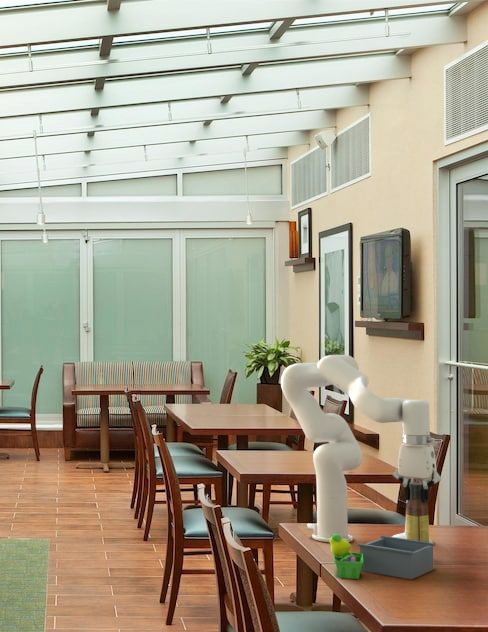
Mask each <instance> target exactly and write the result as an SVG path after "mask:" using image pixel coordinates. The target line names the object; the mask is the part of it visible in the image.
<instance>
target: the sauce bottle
mask: <svg viewBox="0 0 488 632" xmlns="http://www.w3.org/2000/svg"><path fill="white" fill-rule="evenodd" d="M409 488H410V498H409V500H408V502H407V501H406V502H405V503H406V504H405V525H406V530H407V539H410V540H416V541H423V542H429V539H430V522H429V520H430V519H429V518H430V517H429V505H428V502H425V503H424V502H422V489H423V482H417V481H416V482H415V481H413V482H411V483H409Z"/></svg>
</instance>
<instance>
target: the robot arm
mask: <svg viewBox="0 0 488 632" xmlns="http://www.w3.org/2000/svg"><path fill="white" fill-rule="evenodd" d="M359 369H360V368H359V363H358V361H357V360H356V359H355V358H354V357H352V356H351V355H348V354H329V355H325V356H323V357H322V358H320V359H319V360H318V362H297V363H293V364H290V365H289V366H287V367H286V368H285V369H284V371H283V372H282V375H281V378H280V387H281V390H282V394H283V396H284V398H285V400H286V401H287V403H288V405H289V406H290V408H291V409H292V411H293V413H294V415H295V417H296V419H297V422H298V423H299V425H300V427H301V429H302V431H303V433H304V436H305V437H306V439H307V440H309V441H310V442H312V443H316V444H317V443H324V444H321V445H319V446H318V447H316V449H315V450H314V453H313V457H312V460H313V467H314V471H315V479H316V480H315V481H316V523H309V522H308V523H307V524H306V530H307V531H312V532H313V533H312V535H311V536H312V537H311V538H312V539H313V540H315V541H318V542H321V543H322V542H323V543H330V538H331V537H332V536H331V535H332V534H333V535H334V534H339V535H340V536H341V537H342V538H343V539H345V540H346V541H347V542H348V543H351V542H353V541H354V537H353V535H351V534H349V523H348V520H349V519H348V518H349V517H348V511H349V510H348V483H347V479H346V477H345V474H344V472H345V471H346V472H347V471H353V470H356V469H358V468H360V466H361V464H362V462H363V453H362V449H361V446H360V444H359V442H358V441H357V439H356V437H355V435H354V433H353V432H352V430H351V428H350V427H351V426H349V424H348V422H347V421H346V419H345V418H344V417H342V416H341V415H339V414H337V413H333V412H327V413H325V412H324V411H323V409H322V408H321V406H320V404H319V402H318V401H317V400H318V399H316V397H315V396H314V395H313V394H312V393H311V392H310V391H309V390H308V389H307V388H321V387H328V386H331V385H332V386H335V387H336V388H337V389H339V390H340V391H341V392H343V393H344V394H345V395H347V396H348V397H349V399H350V401H351V403H352V404H353V406H354V407H355V409H357V411H359V412H360V413H361V414H363V415H364V416H365V417H367V418H368V419H370V420H371V421H374V422H377V423H379V424H387V423H388V424H389V423H399V422H402V443H400V445H399V446H400V447H399V452H398V459H397V468H396V469H395V471H394V472H393V474H392V476H393V478H395V479H396V480H398V482H399V483H400V484H401V485H402V487H404V497H405V501H407V500H409V498H410V488H409V483H411V479H412V478H414V479H418V480H419V479H420V480H421V483H423V489H422V502H424V503H425V502H426V503H428V502H429V500H430V498H431V495H430V494H431V493H430V492H431V491H430V490H431V489H432V487H434V485H435V484H437V483H439V482H441V481H442V477H441V475H440V474H439V473H438V471H437V461H436V453H435V449H434V446H433V444H432V445H431V443H434V442H435V440H436V439H435V437H431V433H430V432H431V429H430V423H431V422H430V421H431V420H430V403H429V402H428V401H427V400H425V399H409V398H405V397H404V398H403V397H383V398H382V397H379V396H378V395H377V394H376V393H374V392H372V391H370V390H369V389H368V386H369V381H370V380H369V377H368V376H367V375H366V374H364V372H362V371H360V370H359Z"/></svg>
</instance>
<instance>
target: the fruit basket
mask: <svg viewBox="0 0 488 632" xmlns="http://www.w3.org/2000/svg"><path fill="white" fill-rule="evenodd" d="M331 536H332V537H331V538H330V542H329V544H330V545H329V546H330V551H331V553H332V555H333V561H334V564H335V568H336V570H337V575H338V578H340V579H351V580H353V579H354V580H359V579H360V575H361V572H362V571H361V567H362V565H363V554H361V553H360V552H353V551H352V552H350V550H351V548H352V545H351V542H347V541H346V540H345V539H343V538H342V537H341V536H340V535H339V534H334V535H333V534H332V535H331Z"/></svg>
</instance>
